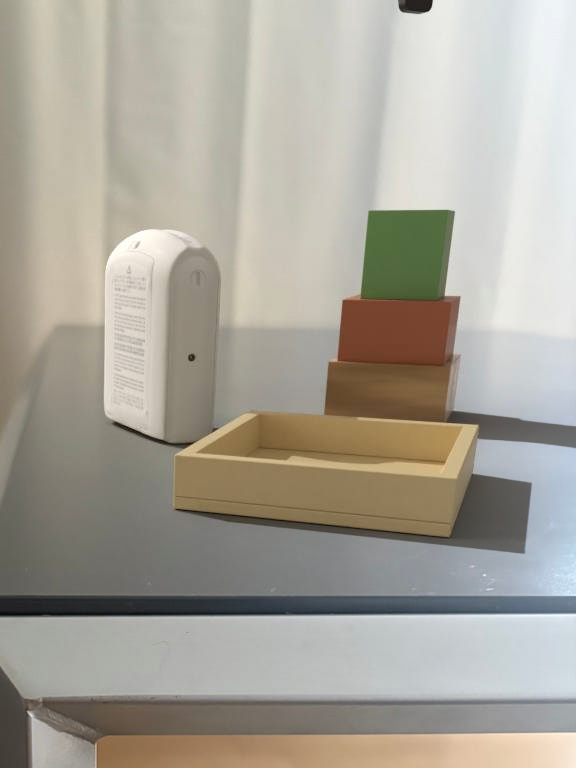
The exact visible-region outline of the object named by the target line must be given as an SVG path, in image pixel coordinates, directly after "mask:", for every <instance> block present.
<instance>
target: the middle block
mask: <svg viewBox="0 0 576 768" xmlns="http://www.w3.org/2000/svg"><path fill="white" fill-rule="evenodd" d="M360 295H361V293H359V294H355V295H353V296H350V297H347V298H343V299H342V301H341V310H340V311H341V314H340V321H339V323H340V324H339V335H338V346H337V356H336V357H337V361H350V362H373V363H395V364H417V365H440V366H443V365H444V364H445V363H446V362H447V361H448V360H449V358H450V357H451V356H452V355H453V354H454V351H455V344H456V343H455V342H456V335H457V329H458V328H457V327H458V320H459V313H460V304H461V298H462V297H461V295H445V296H444V297H442V298H440V299H439V300H437V301H430V300H384V299H360Z"/></svg>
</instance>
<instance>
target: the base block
mask: <svg viewBox="0 0 576 768" xmlns="http://www.w3.org/2000/svg"><path fill="white" fill-rule="evenodd" d="M337 357H338V356H336V357H334V358H332V359H330V360H328V363H327V371H326V372H327V373H326V384H325V385H326V387H325V398H324V410H323V415H332V416H347V417H363V418H378V419H393V420H409V421H424V422H440V423H448V420H449V418H450V417H451V415H452V413H453V411H454V409H455V401H456V395H457V387H458V379H459V374H460V373H459V372H460V364H461V357H462V354H461V353H460V354H459V353H453V355H452V356H451V357H450V358H449V360H448V361H447V362H446V363H445V364H444V365H443V366H440V365H417V364H395V363H373V362H350V361H337Z"/></svg>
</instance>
